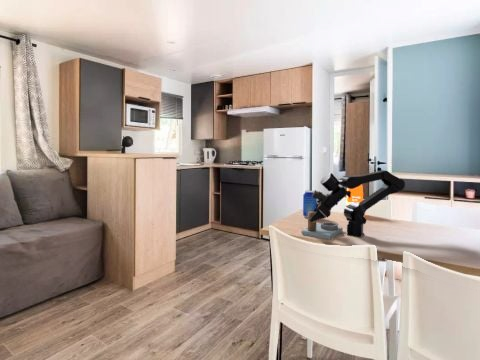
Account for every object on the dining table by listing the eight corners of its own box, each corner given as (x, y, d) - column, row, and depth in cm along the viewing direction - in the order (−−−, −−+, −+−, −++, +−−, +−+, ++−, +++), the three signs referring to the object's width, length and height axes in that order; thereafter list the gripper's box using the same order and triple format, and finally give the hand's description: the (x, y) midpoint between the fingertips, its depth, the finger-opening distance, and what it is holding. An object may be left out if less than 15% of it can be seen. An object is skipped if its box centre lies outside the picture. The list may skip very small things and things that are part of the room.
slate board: (342, 231, 152) (342, 223, 152) (329, 239, 139) (329, 231, 138) (316, 227, 161) (316, 219, 160) (301, 234, 147) (301, 226, 147)
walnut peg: (317, 230, 147) (317, 212, 146) (314, 232, 144) (314, 213, 143) (310, 228, 150) (310, 211, 149) (306, 230, 147) (306, 212, 146)
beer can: (301, 217, 182) (301, 191, 181) (305, 215, 190) (305, 190, 188) (315, 219, 179) (315, 192, 177) (318, 216, 186) (319, 190, 184)
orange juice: (362, 216, 186) (363, 183, 184) (347, 215, 188) (348, 183, 186) (360, 213, 193) (361, 182, 191) (345, 213, 195) (346, 182, 193)
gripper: (321, 182, 153) (299, 203, 156) (323, 187, 135) (297, 210, 138) (337, 198, 152) (314, 219, 155) (341, 205, 134) (315, 228, 137)
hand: (310, 219), depth 146 cm, fingers open, 9 cm apart
